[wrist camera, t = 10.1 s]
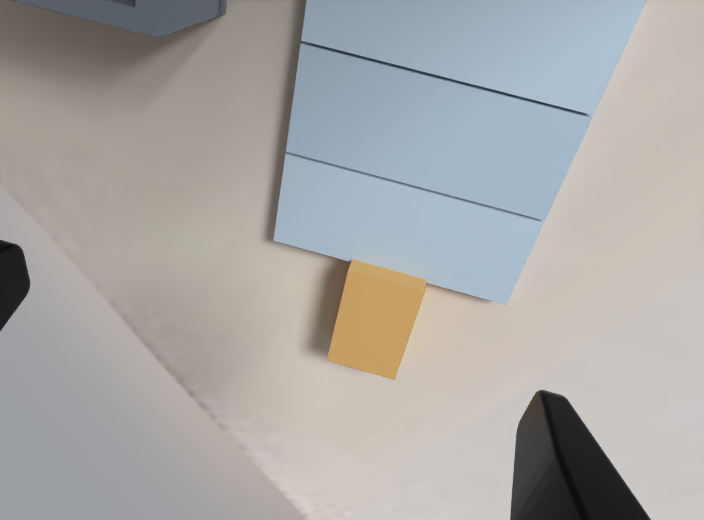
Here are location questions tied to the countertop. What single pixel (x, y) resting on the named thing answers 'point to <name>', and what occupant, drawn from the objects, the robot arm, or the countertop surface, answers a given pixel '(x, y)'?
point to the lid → (435, 146)
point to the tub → (139, 13)
